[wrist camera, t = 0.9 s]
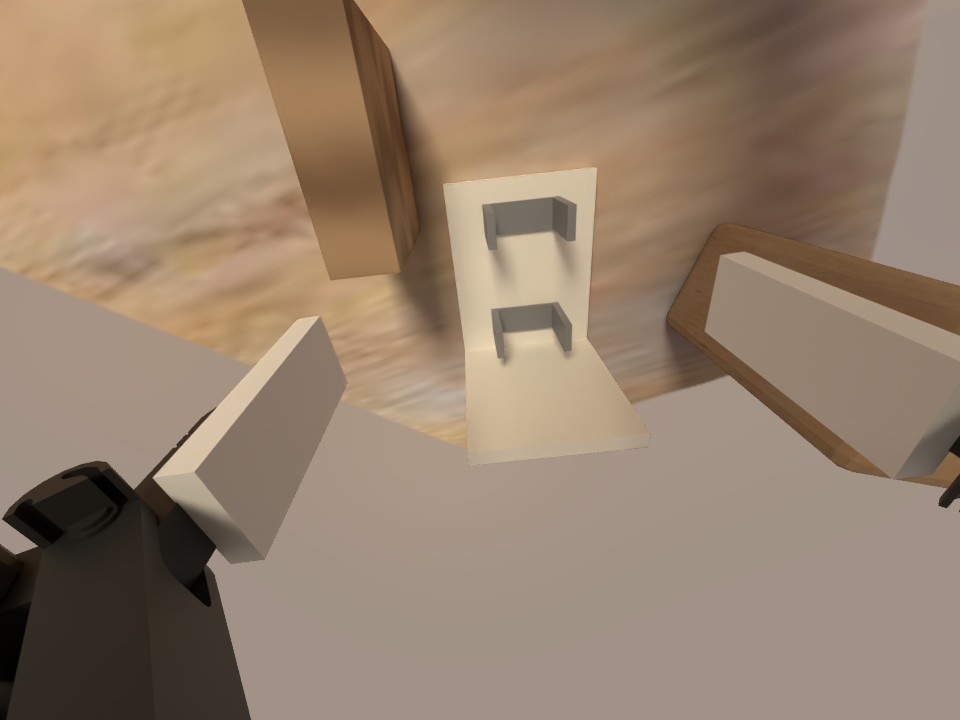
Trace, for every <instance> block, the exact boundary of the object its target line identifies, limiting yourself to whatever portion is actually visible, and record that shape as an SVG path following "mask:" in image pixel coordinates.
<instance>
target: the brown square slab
mask: <svg viewBox="0 0 960 720" xmlns="http://www.w3.org/2000/svg"><path fill="white" fill-rule="evenodd" d="M242 1H243V5H244V8H245V11H246V14H247V17H248V20H249V24H250V27H251V30H252V33H253V36H254V40H255V43H256V46H257V49H258V52H259V55H260V59H261V62H262V65H263V68H264V71H265V74H266V78H267V81H268V84H269V87H270V90H271V93H272V97H273V100H274V103H275V106H276V109H277V112H278V116H279V119H280V122H281V125H282V128H283V131H284V135H285V138H286V141H287V144H288V147H289V150H290V154H291V157H292V160H293V163H294V166H295V169H296V173H297V176H298V179H299V182H300V185H301V189H302V192H303V195H304V198H305V201H306V204H307V208H308V211H309V214H310V217H311V220H312V223H313V227H314V230H315V233H316V236H317V239H318V242H319V246H320V249H321V252H322V255H323V258H324V261H325V265H326V268H327V271H328V274H329V277H330V280H337V279H347V278H356V277H365V276H374V275H383V274H392V273H400V272H401V270H402V268H403V266H404V264H405V262H406V260H407V257H408V255H409V253H410V251H411V249H412V247H413V245H414V243H415V241H416V239H417V237H418V234H419V232H420V227H419V221H418V215H417V210H416V204H415V198H414V192H413V186H412V181H411V175H410V169H409V163H408V157H407V152H406V146H405V140H404V134H403V129H402V123H401V117H400V111H399V105H398V100H397V94H396V88H395V82H394V77H393V71H392V65H391V59H390V53H389V49H388V47H387V46H386V45H385V43H384V42H383V40H382V39H381V38H380V36H379V35H378V33H377V32H376V31H375V29H374V28H373V26H372V25H371V24H370V22H369V21H368V20H367V18H366V17H365V15H364V14H363V13H362V11H361V10H360V8H359V7H358V6H357V4H356V3H355V2H354V0H242Z"/></svg>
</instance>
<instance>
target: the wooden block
mask: <svg viewBox="0 0 960 720" xmlns="http://www.w3.org/2000/svg"><path fill="white" fill-rule="evenodd" d="M738 252H747V253H750V254H752V255H755V256H757V257H760V258H763V259H765V260H768V261H770V262H773V263H775V264H778V265H780V266H783V267H786V268H788V269H791V270H793V271H796V272H798V273H801V274H803V275H806V276H808V277H811V278H814V279H816V280H819V281H821V282H824V283H826V284H829V285H831V286H834V287H837V288H839V289H842V290H844V291H847V292H849V293H852V294H854V295H857V296H860V297H862V298H865V299H867V300H870V301H872V302H875V303H877V304H880V305H883V306H885V307H888V308H890V309H893V310H895V311H898V312H900V313H903V314H906V315H908V316H911V317H913V318H916V319H918V320H921V321H923V322H926V323H928V324H931V325H934V326H936V327H939V328H941V329H944V330H946V331H949V332H951V333H954V334H957V335H959V336H960V286H958V285H954V284H950V283H947V282H944V281H940V280H936V279H933V278H929V277H925V276H922V275H918V274H914V273H910V272H907V271H903V270H900V269H896V268H893V267H889V266H885V265H882V264H878V263H874V262H871V261H867V260H864V259H860V258H856V257H853V256H849V255H846V254H842V253H838V252H835V251H831V250H827V249H824V248H820V247H817V246H813V245H809V244H806V243H802V242H798V241H795V240H791V239H788V238H784V237H780V236H777V235H773V234H769V233H766V232H762V231H759V230H755V229H751V228H748V227H744V226H740V225H737V224H733V223H729V224H723V225H719V226H718V227H717V228H716V229H715V230H714V231H713V232H712V234H711V236H710V238H709V239H708V241H707V243H706V245H705V247H704V249H703V250H702V252H701V254H700V256H699V258H698V259H697V261H696V263H695V265H694V267H693V269H692V270H691V272H690V274H689V276H688V278H687V280H686V281H685V283H684V285H683V287H682V289H681V290H680V292H679V294H678V296H677V298H676V300H675V301H674V303H673V305H672V307H671V309H670V311H669V312H668V315H667V322H668V324H669V325H671V326H672V327H673V328H674V329H675V330H677V331H678V332H679V333H680V334H681V335H683V336H684V337H685V338H686V339H687V340H688V341H690V342H691V343H692V344H693V345H694V346H696V347H697V348H698V349H699V350H700V351H702V352H703V353H704V354H705V355H706V356H707V357H709V358H710V359H711V360H712V361H713V362H715V363H716V364H717V365H718V366H719V367H721V368H722V369H723V370H724V371H725V372H726V373H728V374H729V375H730V376H731V377H732V378H734V379H735V380H736V381H737V382H738V383H740V384H741V385H742V386H743V387H744V388H746V389H747V390H748V391H749V392H750V393H751V394H753V395H754V396H755V397H756V398H757V399H759V400H760V401H761V402H762V403H763V404H765V405H766V406H767V407H768V408H769V409H771V410H772V411H773V412H774V413H775V414H776V415H778V416H779V417H780V418H781V419H782V420H784V421H785V422H786V423H787V424H788V425H790V426H791V427H792V428H793V429H794V430H796V431H797V432H798V433H799V434H800V435H801V436H803V437H804V438H805V439H806V440H807V441H808V442H810V443H811V444H812V445H813V446H814V447H816V448H817V449H818V450H819V451H820V452H822V453H823V454H824V455H825V456H826V457H827V458H829V459H830V460H831V461H832V462H834V463H835V464H836V465H837V466H839V467H842V468H844V469H847V470H850V471H852V472H856V473H862V474H869V475H874V476H879V477H886V478H891V477H889V476H888V475H887V474H885V473H884V472H883V471H882V470H880V469H879V468H878V467H877V466H875V465H874V464H873V463H871V462H870V461H869V460H868V459H866V458H865V457H864V456H863V455H861V454H860V453H859V452H857V451H856V450H855V449H854V448H852V447H851V446H850V445H849V444H847V443H846V442H845V441H843V440H842V439H841V438H840V437H838V436H837V435H836V434H835V433H833V432H832V431H831V430H829V429H828V428H827V427H826V426H824V425H823V424H822V423H821V422H819V421H818V420H817V419H815V418H814V417H813V416H812V415H810V414H809V413H808V412H806V411H805V410H804V409H803V408H801V407H800V406H799V405H798V404H796V403H795V402H794V401H792V400H791V399H790V398H789V397H787V396H786V395H785V394H784V393H782V392H781V391H780V390H778V389H777V388H776V387H775V386H773V385H772V384H771V383H770V382H768V381H767V380H766V379H764V378H763V377H762V376H761V375H759V374H758V373H757V372H756V371H754V370H753V369H752V368H750V367H749V366H748V365H747V364H745V363H744V362H743V361H742V360H740V359H739V358H738V357H736V356H735V355H734V354H733V353H731V352H730V351H729V350H728V349H726V348H725V347H724V346H722V345H721V344H720V343H719V342H717V341H716V340H715V339H714V338H712V337H711V336H710V335H708V334H707V333H706V332H705V327H706V323H707V318H708V313H709V308H710V303H711V298H712V293H713V288H714V284H715V279H716V274H717V269H718V264H719V259H720V255H725V254H732V253H738ZM959 474H960V458H959V457H957V456H956V455H954V454H953V453H951V452H949V453H948V455H947V456H946V457H945V459H944V460H943V461H942V463H941V464H940V465H939V467H938V468H937V469H936V471H935V472H934V473H933V475H926V476H918V477H910V478H903V479H897V480H902V481H908V482H914V483H920V484H926V485H931V486H938V487H943V488H948V487H949V486H950V485H951V484H952V482H953V481H954V480H955V479H956V477H957V476H958V475H959ZM891 479H892V478H891Z"/></svg>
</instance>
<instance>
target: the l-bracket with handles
mask: <svg viewBox="0 0 960 720" xmlns="http://www.w3.org/2000/svg"><path fill="white" fill-rule="evenodd" d="M596 179H597V168H594V167H590V168H581V169H572V170H563V171H554V172H545V173H536V174H527V175H518V176H509V177H500V178H491V179H482V180H473V181H464V182H455V183H446V184H443V190H444V198H445V205H446V213H447V220H448V227H449V235H450V242H451V250H452V257H453V265H454V272H455V280H456V287H457V295H458V302H459V310H460V317H461V325H462V332H463V339H464V347H465V370H466V411H467V451H468V459H469V465H470V466H475V465H485V464H494V463H503V462H513V461H523V460H532V459H541V458H552V457H561V456H571V455H580V454H589V453H599V452H609V451H619V450H627V449H638V448H647V447H648V445H649V439H650V432H649V431H648V429H647V428H646V426H645V425H644V423H643V422H642V420H641V419H640V417H639V416H638V414H637V413H636V411H635V410H634V408H633V407H632V405H631V404H630V402H629V401H628V399H627V398H626V396H625V395H624V393H623V392H622V390H621V389H620V387H619V386H618V384H617V383H616V381H615V380H614V378H613V377H612V375H611V374H610V372H609V371H608V369H607V368H606V366H605V365H604V363H603V362H602V360H601V359H600V357H599V356H598V354H597V353H596V351H595V350H594V348H593V347H592V345H591V344H590V342H589V341H588V339H587V325H588V309H589V293H590V277H591V260H592V244H593V228H594V211H595V195H596Z"/></svg>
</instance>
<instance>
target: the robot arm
mask: <svg viewBox="0 0 960 720" xmlns="http://www.w3.org/2000/svg"><path fill="white" fill-rule="evenodd" d="M705 332H706V333H707V334H708V335H710V336H711V337H712V338H714V339H715V340H716V341H717V342H719V343H720V344H721V345H722V346H724V347H725V348H726V349H728V350H729V351H730V352H731V353H733V354H734V355H735V356H736V357H738V358H739V359H740V360H742V361H743V362H744V363H745V364H747V365H748V366H749V367H750V368H752V369H753V370H754V371H756V372H757V373H758V374H759V375H761V376H762V377H763V378H764V379H766V380H767V381H768V382H770V383H771V384H772V385H773V386H775V387H776V388H777V389H778V390H780V391H781V392H782V393H784V394H785V395H786V396H787V397H789V398H790V399H791V400H792V401H794V402H795V403H796V404H798V405H799V406H800V407H801V408H803V409H804V410H805V411H806V412H808V413H809V414H810V415H812V416H813V417H814V418H815V419H817V420H818V421H819V422H821V423H822V424H823V425H824V426H826V427H827V428H828V429H829V430H831V431H832V432H833V433H835V434H836V435H837V436H838V437H840V438H841V439H842V440H843V441H845V442H846V443H847V444H849V445H850V446H851V447H852V448H854V449H855V450H856V451H857V452H859V453H860V454H861V455H863V456H864V457H865V458H866V459H868V460H869V461H870V462H871V463H873V464H874V465H875V466H877V467H878V468H879V469H880V470H882V471H883V472H884V473H885V474H887V475H888V476H889V477H891V478H892V479H893V480H894V479H903V478H910V477H918V476H926V475H933V473H934V472H935V471H936V469H937V468H938V467H939V465H940V464H941V463H942V461H943V460H944V459H945V457H946V456H947V455H948V453H949V452H951V453H953V454H954V455H956V456H957V457H959V458H960V336H959V335H957V334H954V333H951V332H949V331H946V330H944V329H941V328H939V327H936V326H934V325H931V324H928V323H926V322H923V321H921V320H918V319H916V318H913V317H911V316H908V315H906V314H903V313H900V312H898V311H895V310H893V309H890V308H888V307H885V306H883V305H880V304H877V303H875V302H872V301H870V300H867V299H865V298H862V297H860V296H857V295H854V294H852V293H849V292H847V291H844V290H842V289H839V288H837V287H834V286H831V285H829V284H826V283H824V282H821V281H819V280H816V279H814V278H811V277H808V276H806V275H803V274H801V273H798V272H796V271H793V270H791V269H788V268H786V267H783V266H780V265H778V264H775V263H773V262H770V261H768V260H765V259H763V258H760V257H757V256H755V255H752V254H750V253H747V252H738V253H732V254H725V255H720V259H719V264H718V269H717V274H716V279H715V284H714V288H713V293H712V298H711V303H710V308H709V313H708V318H707V323H706V327H705ZM346 385H347V380H346V378H345V375H344V373H343V370H342V368H341V365H340V363H339V360H338V358H337V356H336V353H335V351H334V348H333V346H332V343H331V341H330V338H329V336H328V333H327V331H326V329H325V326H324V324H323V321H322V319H321V316H315V317H308V318H302V319H297V321H296V322H295V323H294V324H293V325H292V326H291V327H290V328H289V329H288V330H287V332H286V333H285V334H284V335H283V336H282V337H281V338H280V339H279V340H278V341H277V342H276V344H275V345H274V346H273V347H272V348H271V349H270V350H269V351H268V352H267V353H266V354H265V356H264V357H263V358H262V359H261V360H260V361H259V362H258V363H257V364H256V365H255V366H254V368H253V369H252V370H251V371H250V372H249V373H248V374H247V375H246V376H245V377H244V379H243V380H242V381H241V382H240V383H239V384H238V385H237V386H236V387H235V388H234V389H233V390H232V392H231V393H230V394H229V395H228V396H227V397H226V398H225V399H224V400H223V401H222V402H221V404H220V405H219V406H217V407H216V408H214V409H213V410H212V411H210V412H209V413H207V414H206V415H205V416H203V417H202V418H201V419H200V420H199V421H198V422H197V423H196V424H195V425H194V427H192V428H191V430H190V431H189V432H188V435H185V436H184V437H183V438H182V439H181V440H180V441H179V442H178V443H177V447H176V448H173V449H172V450H171V451H170V452H169V453H168V454H167V455H166V456H165V457H164V458H163V459H162V461H161V462H160V463H159V464H158V465H157V466H156V467H155V468H154V469H153V470H152V471H151V472H150V474H148V475H147V476H146V478H145V479H144V480H143V481H142V482H141V483H140V484H139V485H138V486H137V487H136V488H135V489H134V490H133V489H132V488H131V487H130V486H129V485H128V484H127V483H126V481H124V479H123V478H122V477H121V476H120V475H119V474H118V473H117V472H116V471H115V470H114V469H113V468H112V467H111V466H110V465H109V464H108V463H107V462H101V461H95V462H90V463H85V464H81V465H78V466H76V467H73V468H71V469H68V470H66V471H63V472H61V473H59V474H57V475H55V476H53V477H51V478H50V479H48V480H46V481H44V482H42V483H41V484H39V485H38V486H36V487H35V488H33V489H32V490H30V491H29V492H27V493H26V494H25V495H23V496H22V497H21V498H20V499H19V500H18V501H17V502H15V503H14V504H13V505H12V506H11V507H10V508H9V509H8V511H7V512H6V514H5V515H4V517H3V518H2V519H3V520H4V521H5V522H7V523H8V524H9V525H10V526H12V527H13V528H15V529H16V530H17V531H19V532H20V533H21V534H23V535H24V536H25V537H27V538H28V539H29V540H31V541H32V542H33V543H35V544H36V545H37V546H38V547H36V548H33V549H30V550H28V551H25V552H22V553H19V554H16V555H15V554H13V553H12V552H10V551H9V550H8V549H6V548H5V547H3V546H2V545H0V720H251V718H250V715H249V710H248V706H247V702H246V698H245V694H244V690H243V686H242V682H241V678H240V674H239V670H238V666H237V662H236V659H235V654H234V650H233V646H232V642H231V638H230V635H229V631H228V627H227V623H226V619H225V615H224V611H223V607H222V603H221V599H220V595H219V591H218V587H217V583H216V579H215V575H214V573H213V572H212V571H211V569H210V568H209V567H208V566H207V565H206V564H207V562H208V561H209V559H210V557H211V556H212V554H213V552H214V550H215V549H217V550H218V551H219V552H220V553H221V554H222V555H223V556H224V557H225V558H226V560H227V561H228V562H229V563H230V564H234V563H241V562H249V561H258V560H264V559H265V558H266V556H267V554H268V551H269V549H270V547H271V545H272V543H273V541H274V539H275V537H276V535H277V532H278V530H279V528H280V526H281V524H282V522H283V520H284V518H285V515H286V513H287V511H288V509H289V507H290V505H291V503H292V500H293V498H294V496H295V494H296V492H297V490H298V488H299V485H300V483H301V481H302V479H303V477H304V475H305V473H306V471H307V469H308V466H309V464H310V462H311V460H312V458H313V456H314V454H315V451H316V449H317V447H318V445H319V443H320V441H321V439H322V436H323V434H324V432H325V430H326V428H327V426H328V424H329V422H330V420H331V417H332V415H333V413H334V411H335V409H336V407H337V405H338V402H339V400H340V398H341V396H342V394H343V392H344V390H345V388H346ZM957 498H960V474H959V475H958V476H957V477H956V479H955V480H954V481H953V482H952V484H951V485H950V486H949V487H948V489H947V490H946V491H945V493H944V494H943V495H942V496H941V498H940V500H939V506H941V507H945V508H947V507H948V506H949V505H950V504H951V503H952V502H953V500H954V499H957ZM959 512H960V511H959Z"/></svg>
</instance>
